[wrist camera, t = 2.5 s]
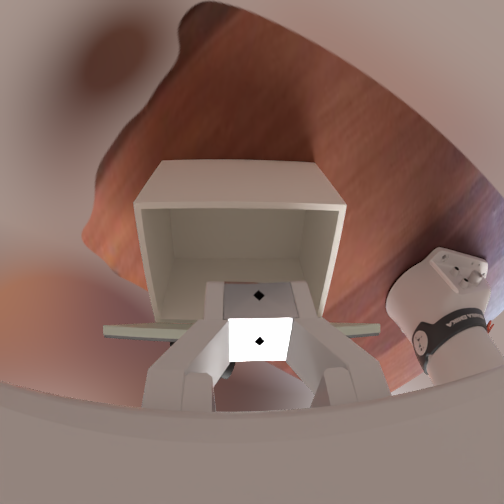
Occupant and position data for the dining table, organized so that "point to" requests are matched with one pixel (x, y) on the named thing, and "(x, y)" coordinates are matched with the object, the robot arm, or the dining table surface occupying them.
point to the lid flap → (177, 330)
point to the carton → (235, 229)
